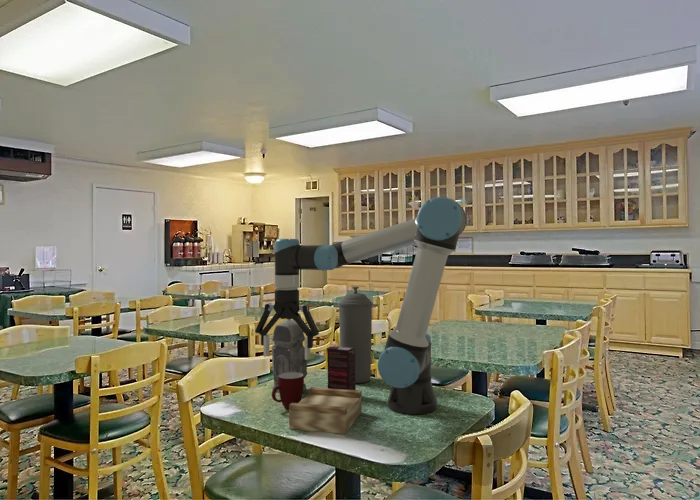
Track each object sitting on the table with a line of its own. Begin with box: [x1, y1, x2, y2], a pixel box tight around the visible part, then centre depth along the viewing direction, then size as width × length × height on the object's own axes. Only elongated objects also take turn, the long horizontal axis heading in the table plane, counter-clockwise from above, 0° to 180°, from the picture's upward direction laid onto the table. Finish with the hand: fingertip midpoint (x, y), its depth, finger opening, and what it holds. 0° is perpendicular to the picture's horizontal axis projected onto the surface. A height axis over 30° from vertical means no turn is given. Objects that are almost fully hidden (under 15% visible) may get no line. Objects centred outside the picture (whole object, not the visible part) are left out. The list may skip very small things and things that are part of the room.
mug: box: [271, 372, 305, 410], centre depth 155 cm, size 10×8×10 cm
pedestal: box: [288, 386, 363, 435], centre depth 145 cm, size 16×18×6 cm
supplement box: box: [326, 345, 357, 390], centre depth 170 cm, size 9×5×16 cm, turn 60°
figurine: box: [271, 319, 308, 393], centre depth 176 cm, size 10×14×25 cm
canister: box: [338, 286, 373, 384], centre depth 188 cm, size 13×13×35 cm
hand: (286, 357), depth 155 cm, fingers open, 13 cm apart
